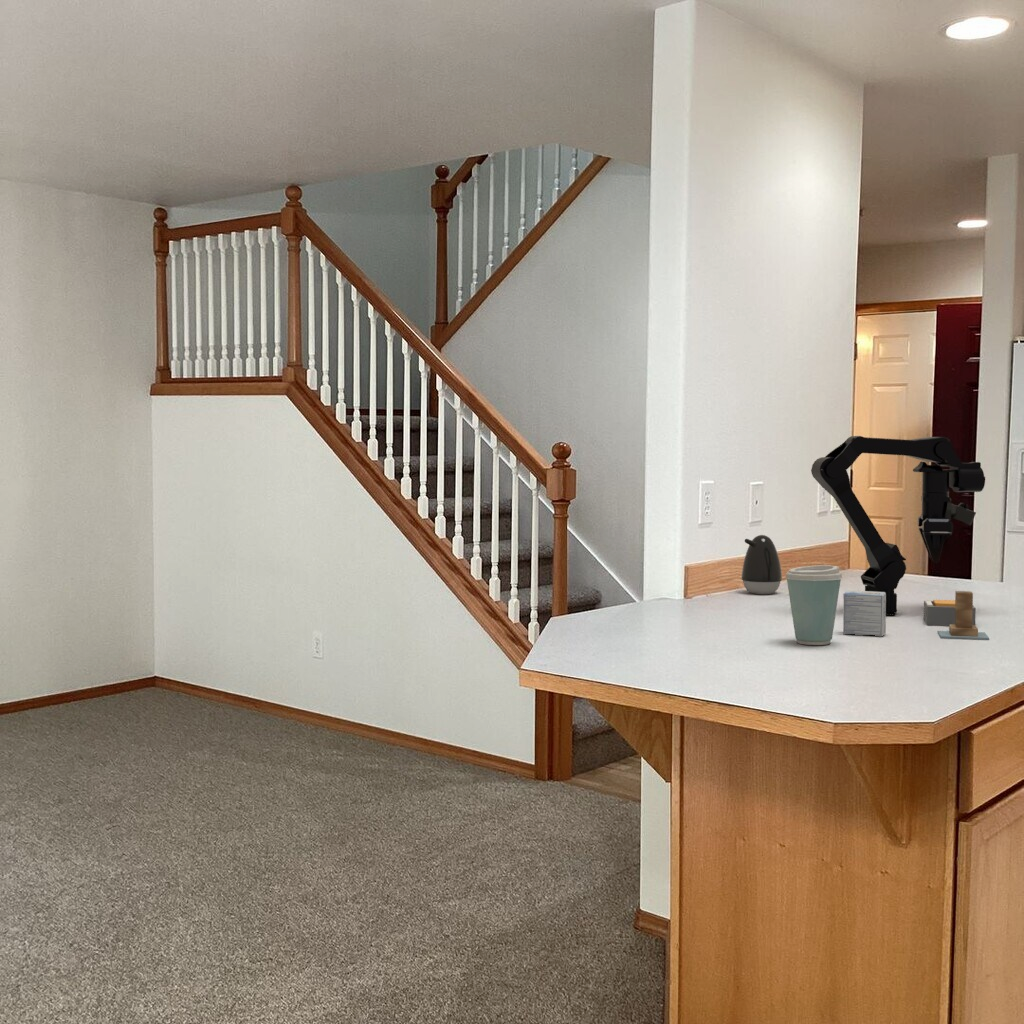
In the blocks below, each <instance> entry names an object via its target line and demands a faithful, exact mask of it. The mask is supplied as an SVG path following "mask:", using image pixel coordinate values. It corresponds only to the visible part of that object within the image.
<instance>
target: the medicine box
mask: <svg viewBox="0 0 1024 1024" xmlns="http://www.w3.org/2000/svg"><path fill="white" fill-rule="evenodd" d="M842 595H843V596H842V597H843V598H842V599H843V606H842V607H843V609H842V610H843V613H842V614H843V617H842V618H843V619H842V620H843V623H842V624H843V625H842V626H843V627H842V629H843V632H842V634H843V635H845V634H855V635H854V636H863V635H875V636H874V637H881V636H883V635H884V636H885V634H886V632H887V629H886V628H887V627H886V626H887V620H886V619H887V617H886V616H887V615H886V593H885V592H873V591H865V590H846V591H845V592H844V593H843V594H842ZM884 636H883V637H884Z"/></svg>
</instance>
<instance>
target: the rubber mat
mask: <svg viewBox="0 0 1024 1024" xmlns="http://www.w3.org/2000/svg"><path fill="white" fill-rule="evenodd" d="M937 634H938V636H939V638H940V639H948V640H949V639H951V640H952V639H954V640H957V639H958V640H978V641H979V640H981V641H989V640H990V637H989V636H988V634H986V632H981V631H978V637H970V636H951V635H950V633H949V630H937Z"/></svg>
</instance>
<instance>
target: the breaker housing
mask: <svg viewBox="0 0 1024 1024" xmlns="http://www.w3.org/2000/svg"><path fill="white" fill-rule="evenodd" d="M976 610H977V609H976V607H975V606H974V605H973V614H972V625H976V613H977V611H976ZM923 620H924V622H925V625H926V626H935V627H936V626H937V627H949V625H955V607H952V606H934V605H933V600H923Z"/></svg>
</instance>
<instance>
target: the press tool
mask: <svg viewBox="0 0 1024 1024" xmlns="http://www.w3.org/2000/svg"><path fill="white" fill-rule="evenodd" d="M954 592H955V593H954V595H955V596H954V597H955V598H954V600H955V625H949V626H948V631H949V633H950V635H951V636H970V637H978V632H979V629H978V627H977V625H976V624H975V625H972V614H973V606H974V604H973V603H974V601H973V600H974V599H973V598H974V592H972V591H969V590H968V591H967V590H966V591H965V590H964V591H963V590H955V591H954Z"/></svg>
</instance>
